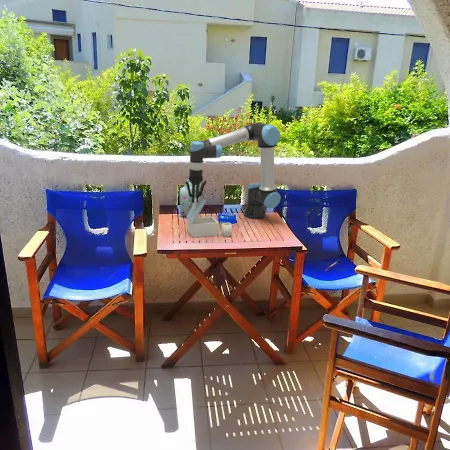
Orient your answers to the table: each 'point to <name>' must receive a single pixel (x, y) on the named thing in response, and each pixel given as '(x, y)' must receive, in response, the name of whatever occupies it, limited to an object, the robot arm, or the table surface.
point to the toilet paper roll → (226, 229)
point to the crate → (203, 227)
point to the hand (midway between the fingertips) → (194, 207)
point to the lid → (196, 210)
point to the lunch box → (186, 199)
